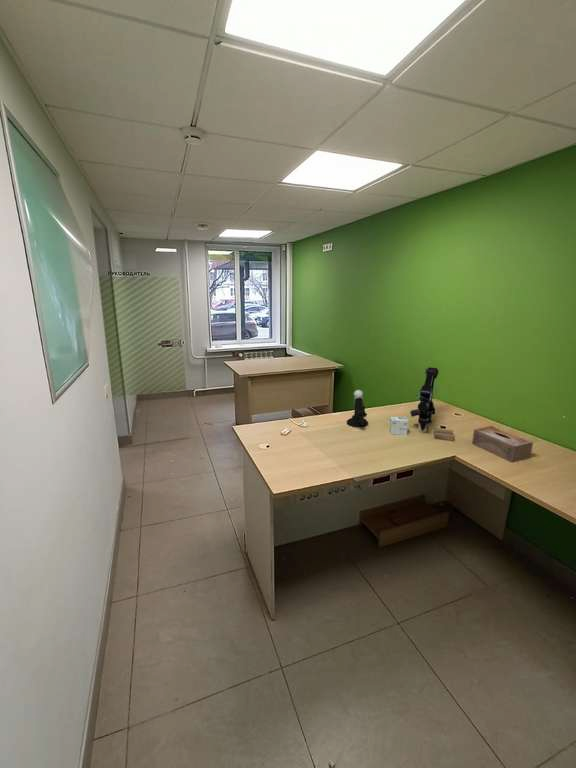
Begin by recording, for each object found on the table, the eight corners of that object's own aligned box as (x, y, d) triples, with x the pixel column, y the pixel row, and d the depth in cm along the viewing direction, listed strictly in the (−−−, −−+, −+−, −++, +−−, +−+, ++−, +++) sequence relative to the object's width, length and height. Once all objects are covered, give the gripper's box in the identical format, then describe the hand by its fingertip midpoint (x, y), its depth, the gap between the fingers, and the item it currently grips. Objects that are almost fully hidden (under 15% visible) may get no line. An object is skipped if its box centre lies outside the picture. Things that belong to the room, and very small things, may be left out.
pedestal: (434, 432, 225) (434, 428, 224) (452, 434, 221) (452, 430, 220) (434, 438, 215) (434, 434, 214) (453, 441, 211) (453, 437, 210)
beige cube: (418, 428, 231) (419, 420, 229) (426, 429, 229) (426, 421, 227) (418, 431, 226) (418, 423, 225) (426, 432, 225) (426, 424, 223)
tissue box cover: (471, 444, 207) (474, 429, 204) (489, 440, 212) (491, 425, 209) (511, 463, 184) (514, 446, 181) (529, 458, 189) (533, 442, 186)
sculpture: (365, 419, 249) (366, 387, 243) (373, 432, 226) (375, 397, 220) (344, 419, 249) (345, 387, 242) (351, 432, 226) (352, 397, 219)
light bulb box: (404, 431, 227) (406, 416, 224) (407, 435, 220) (408, 420, 218) (388, 431, 228) (389, 416, 225) (390, 435, 222) (391, 419, 219)
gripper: (412, 401, 234) (410, 422, 239) (411, 409, 218) (409, 432, 222) (429, 403, 230) (427, 424, 235) (429, 411, 214) (427, 434, 218)
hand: (422, 428), depth 227 cm, fingers open, 6 cm apart
